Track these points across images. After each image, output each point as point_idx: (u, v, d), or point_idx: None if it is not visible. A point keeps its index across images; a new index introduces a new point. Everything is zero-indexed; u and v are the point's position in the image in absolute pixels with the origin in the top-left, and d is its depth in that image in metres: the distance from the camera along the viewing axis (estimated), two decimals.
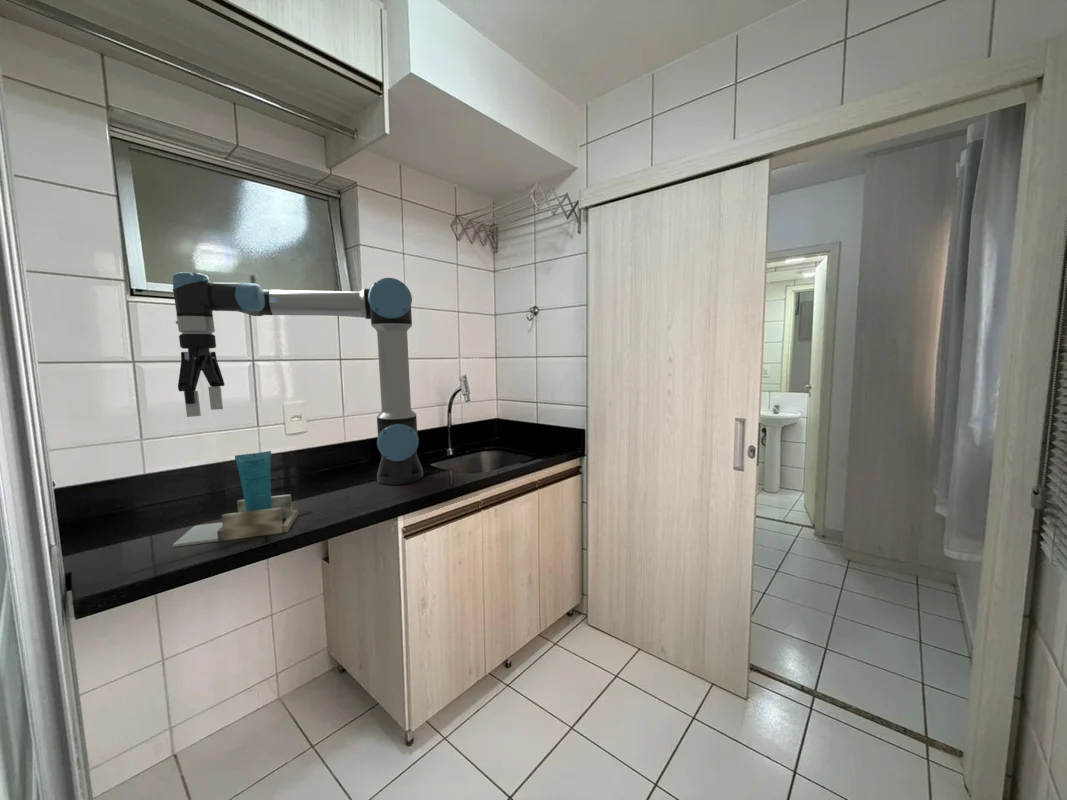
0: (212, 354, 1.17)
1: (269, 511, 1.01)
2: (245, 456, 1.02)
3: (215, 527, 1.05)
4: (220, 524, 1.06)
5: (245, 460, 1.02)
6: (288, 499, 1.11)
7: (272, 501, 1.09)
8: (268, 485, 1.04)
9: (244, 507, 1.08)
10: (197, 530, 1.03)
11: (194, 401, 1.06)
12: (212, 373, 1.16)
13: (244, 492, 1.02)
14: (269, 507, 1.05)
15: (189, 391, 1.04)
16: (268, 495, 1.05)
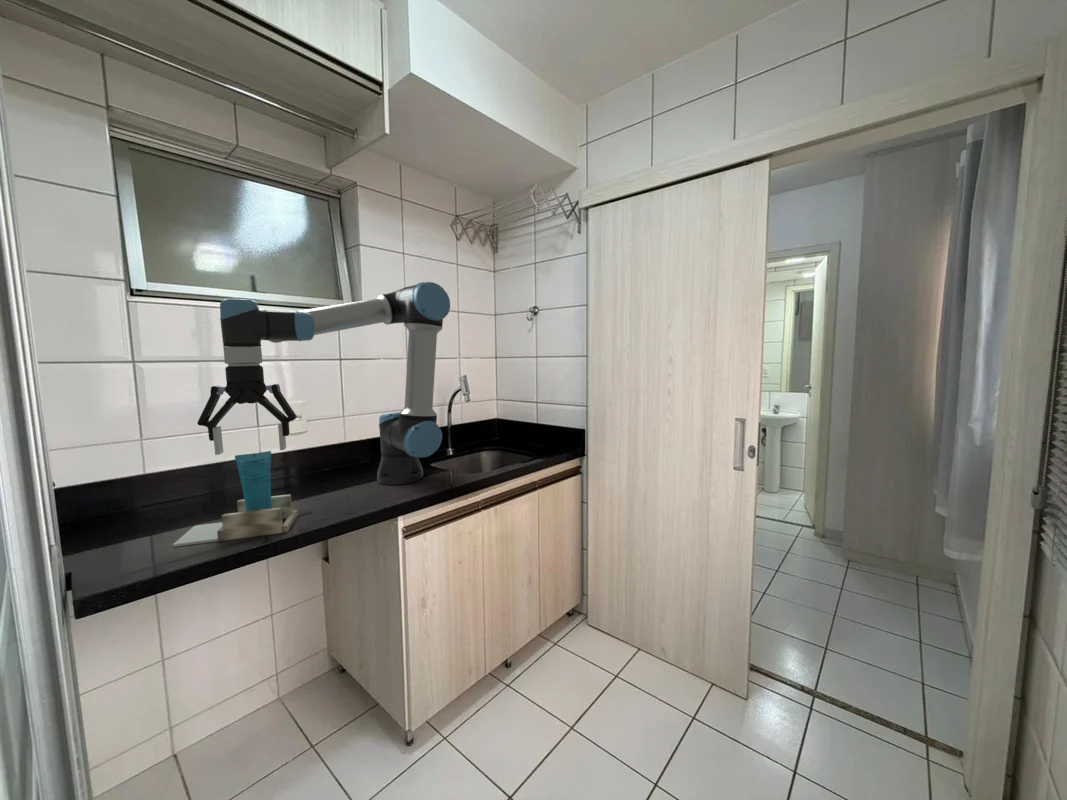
0: None
1: (269, 511, 1.01)
2: (245, 456, 1.02)
3: (215, 527, 1.05)
4: (220, 524, 1.06)
5: (245, 460, 1.02)
6: (288, 499, 1.11)
7: (272, 501, 1.09)
8: (268, 485, 1.04)
9: (244, 507, 1.08)
10: (197, 530, 1.03)
11: (214, 438, 0.99)
12: None
13: (244, 492, 1.02)
14: (269, 507, 1.05)
15: None
16: (268, 495, 1.05)
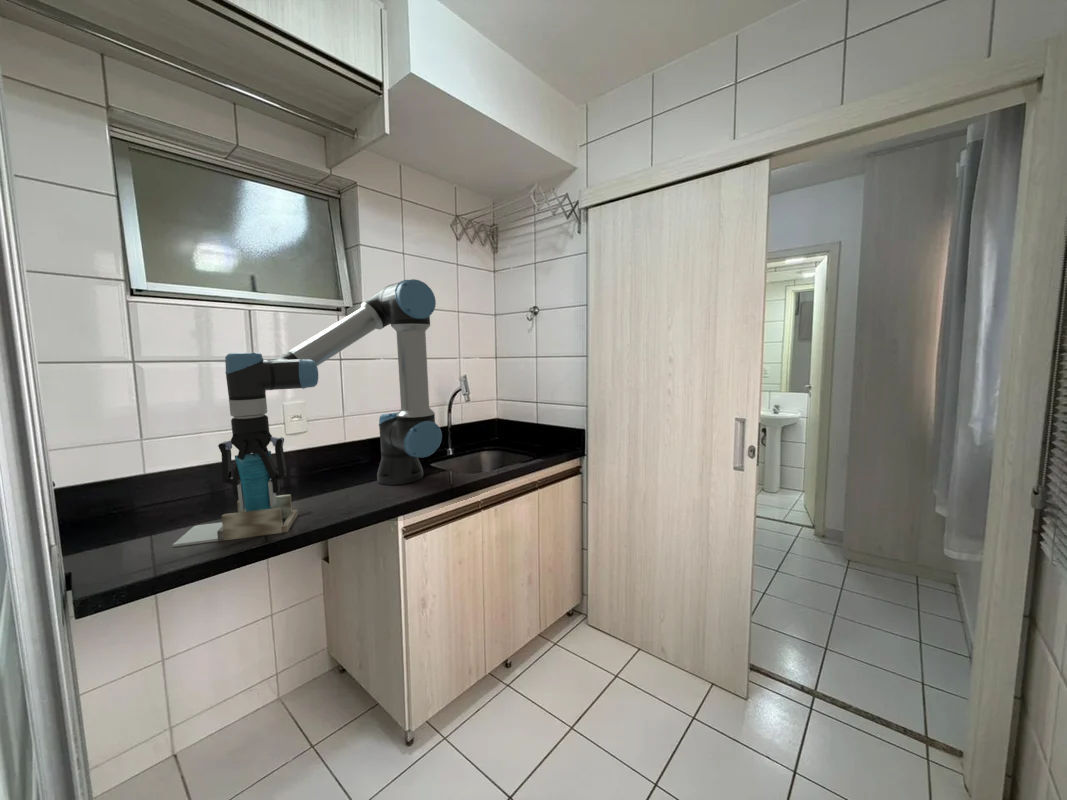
0: (276, 441, 1.04)
1: (269, 511, 1.01)
2: (245, 456, 1.02)
3: (215, 527, 1.05)
4: (220, 524, 1.06)
5: (245, 460, 1.02)
6: (288, 499, 1.11)
7: None
8: None
9: None
10: (197, 530, 1.03)
11: None
12: None
13: (244, 492, 1.02)
14: (269, 507, 1.05)
15: None
16: (268, 495, 1.05)
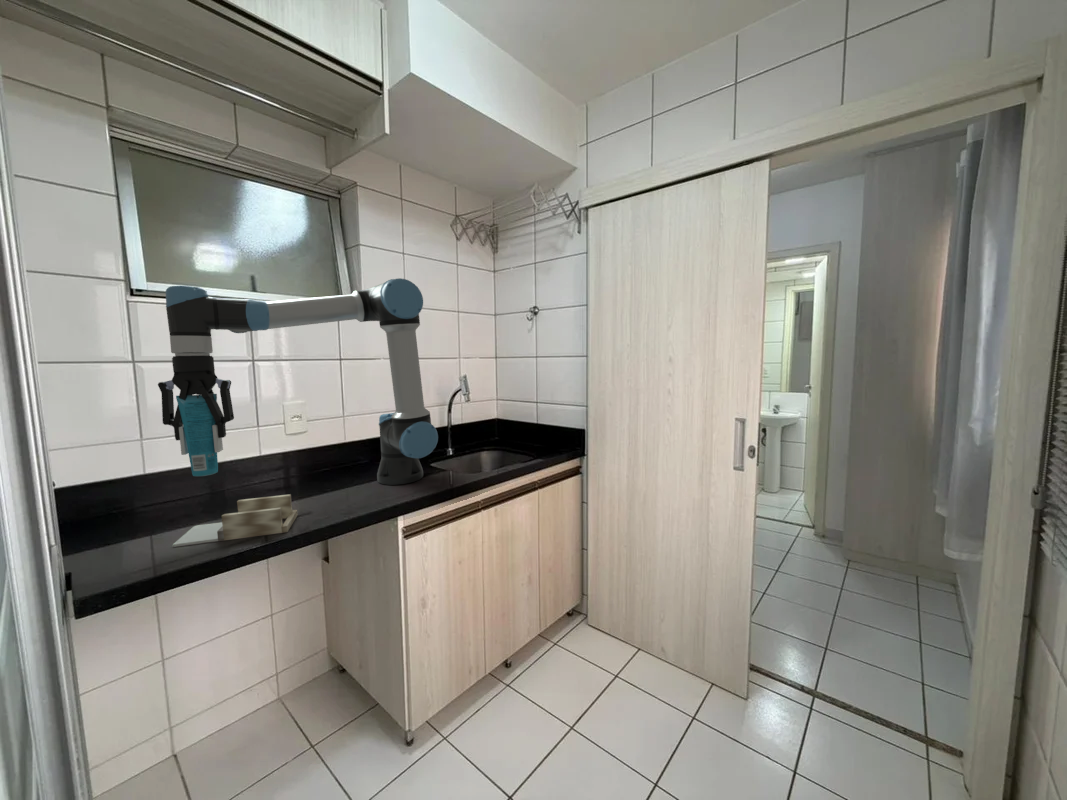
0: None
1: (269, 511, 1.01)
2: (187, 397, 0.97)
3: (215, 527, 1.05)
4: (220, 524, 1.06)
5: (187, 401, 0.97)
6: (288, 499, 1.11)
7: (272, 501, 1.09)
8: None
9: (244, 507, 1.08)
10: (197, 530, 1.03)
11: (180, 438, 0.97)
12: None
13: (186, 435, 0.97)
14: (214, 452, 1.00)
15: None
16: (213, 440, 0.99)
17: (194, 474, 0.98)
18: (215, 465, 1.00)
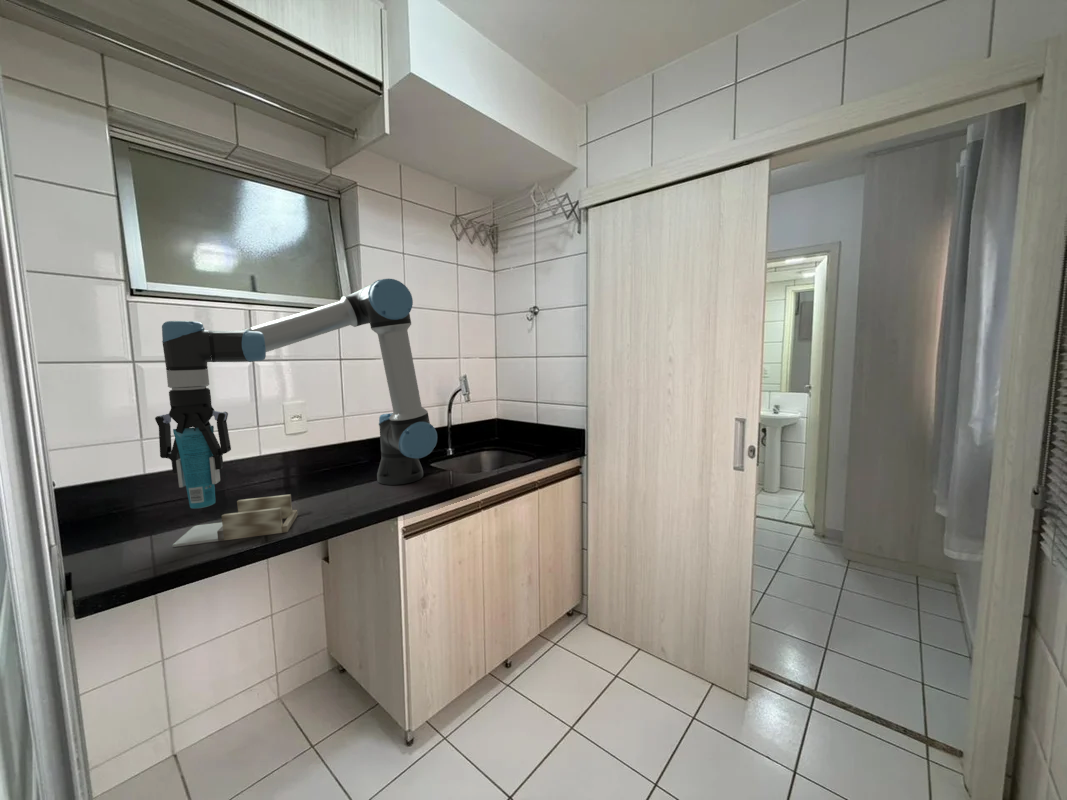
0: None
1: (269, 511, 1.01)
2: (184, 430, 0.98)
3: (215, 527, 1.05)
4: (220, 524, 1.06)
5: (184, 434, 0.97)
6: (288, 499, 1.11)
7: (272, 501, 1.09)
8: None
9: (244, 507, 1.08)
10: (197, 530, 1.03)
11: None
12: None
13: (183, 468, 0.97)
14: (211, 484, 1.00)
15: None
16: (210, 471, 1.00)
17: (191, 506, 0.98)
18: (213, 496, 1.01)
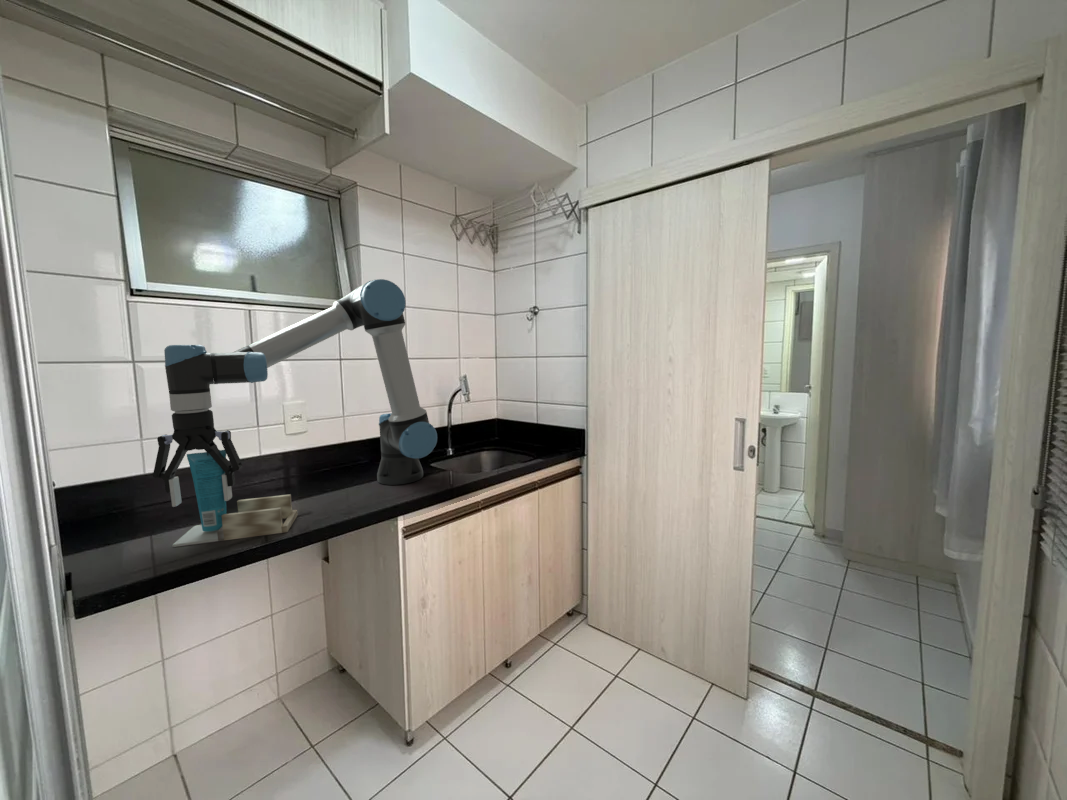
0: None
1: (269, 511, 1.01)
2: (198, 454, 0.99)
3: None
4: None
5: (198, 459, 0.99)
6: (288, 499, 1.11)
7: (272, 501, 1.09)
8: (222, 485, 1.02)
9: (244, 507, 1.08)
10: (197, 530, 1.03)
11: None
12: None
13: (196, 492, 0.99)
14: (223, 507, 1.02)
15: None
16: (222, 495, 1.02)
17: (204, 529, 1.00)
18: None
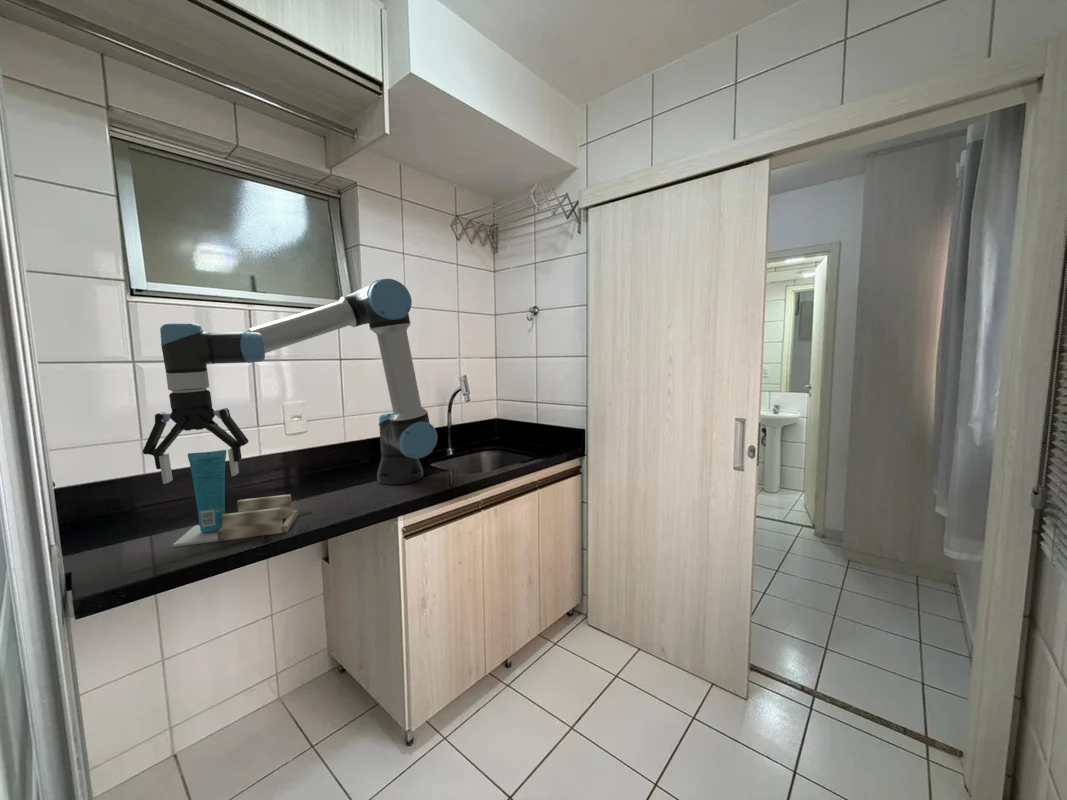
0: None
1: (269, 511, 1.01)
2: (198, 454, 1.01)
3: None
4: None
5: (198, 458, 1.01)
6: (288, 499, 1.11)
7: (272, 501, 1.09)
8: (222, 484, 1.03)
9: (244, 507, 1.08)
10: (197, 530, 1.03)
11: (161, 467, 0.97)
12: None
13: (196, 491, 1.00)
14: (222, 507, 1.03)
15: None
16: (221, 495, 1.03)
17: (202, 530, 1.00)
18: None
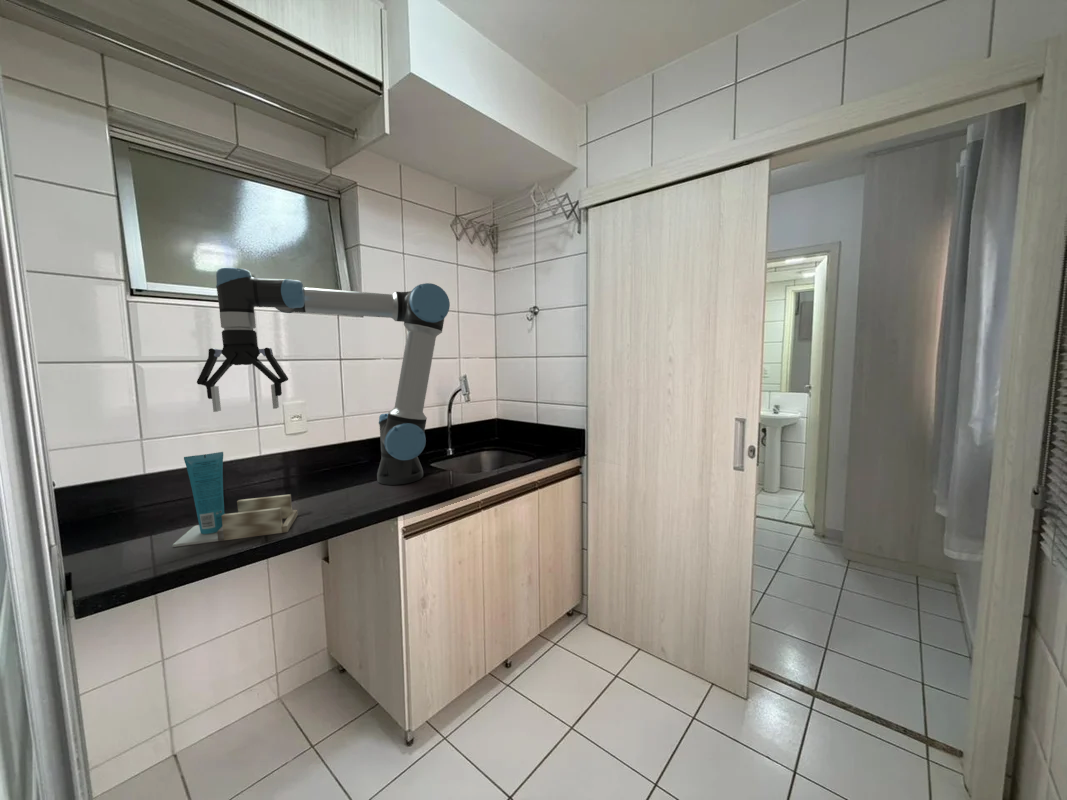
0: None
1: (269, 511, 1.01)
2: (195, 457, 0.99)
3: None
4: None
5: (195, 461, 0.99)
6: (288, 499, 1.11)
7: (272, 501, 1.09)
8: (220, 487, 1.02)
9: (244, 507, 1.08)
10: (197, 530, 1.03)
11: (212, 396, 1.09)
12: None
13: (194, 494, 0.99)
14: (221, 509, 1.02)
15: None
16: (220, 497, 1.02)
17: (203, 532, 1.00)
18: None
